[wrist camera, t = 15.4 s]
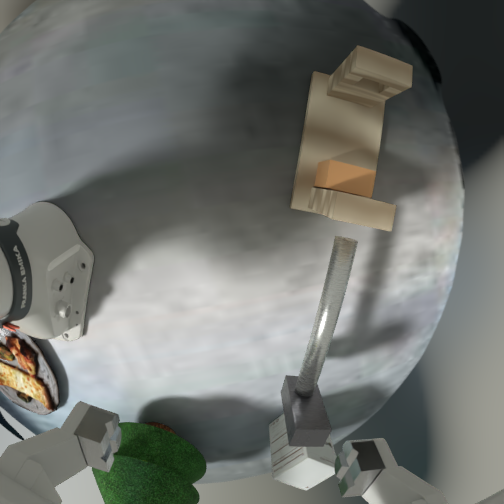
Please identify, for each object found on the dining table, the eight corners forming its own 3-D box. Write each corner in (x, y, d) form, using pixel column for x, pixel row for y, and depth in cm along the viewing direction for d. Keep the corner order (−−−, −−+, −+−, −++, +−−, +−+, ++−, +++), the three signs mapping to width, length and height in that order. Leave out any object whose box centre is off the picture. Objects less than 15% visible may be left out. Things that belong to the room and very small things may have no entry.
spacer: (355, 195, 36) (371, 198, 31) (314, 186, 36) (325, 187, 31) (359, 171, 36) (376, 171, 30) (318, 162, 35) (330, 159, 30)
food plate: (54, 332, 42) (43, 341, 38) (72, 422, 47) (66, 433, 44) (-28, 295, 41) (-39, 301, 38) (-7, 382, 47) (-14, 389, 43)
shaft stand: (362, 221, 39) (406, 240, 26) (289, 207, 38) (309, 220, 26) (381, 94, 34) (428, 69, 22) (311, 74, 34) (337, 35, 22)
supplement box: (326, 417, 47) (342, 470, 34) (296, 439, 48) (305, 492, 35) (297, 400, 45) (309, 457, 33) (266, 424, 47) (271, 480, 34)
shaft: (309, 394, 38) (323, 446, 28) (280, 392, 38) (289, 446, 28) (354, 236, 33) (393, 260, 23) (321, 230, 33) (350, 252, 23)
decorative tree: (100, 392, 45) (28, 520, 16) (204, 403, 45) (178, 569, 16) (125, 456, 49) (87, 566, 20) (213, 467, 50) (203, 592, 20)
